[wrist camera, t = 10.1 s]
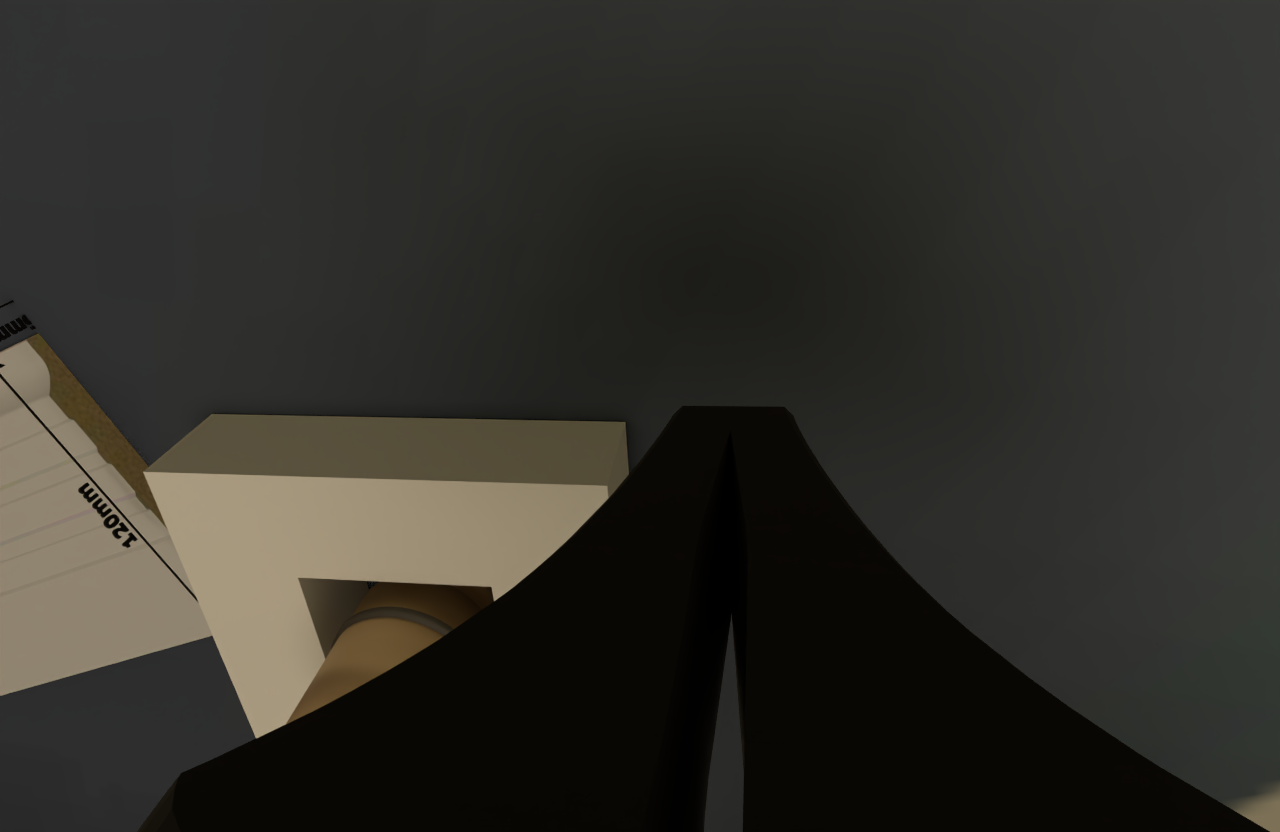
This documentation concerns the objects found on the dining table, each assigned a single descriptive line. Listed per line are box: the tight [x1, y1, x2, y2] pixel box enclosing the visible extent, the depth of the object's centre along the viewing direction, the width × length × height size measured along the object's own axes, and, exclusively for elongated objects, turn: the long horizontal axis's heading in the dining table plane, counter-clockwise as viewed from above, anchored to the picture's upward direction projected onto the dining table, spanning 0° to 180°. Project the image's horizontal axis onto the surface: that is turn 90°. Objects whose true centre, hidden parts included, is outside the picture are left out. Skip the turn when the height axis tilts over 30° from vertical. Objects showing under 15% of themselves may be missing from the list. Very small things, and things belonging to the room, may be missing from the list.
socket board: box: [143, 414, 629, 738], centre depth 24 cm, size 12×12×3 cm
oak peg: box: [286, 582, 494, 724], centre depth 21 cm, size 4×4×9 cm
